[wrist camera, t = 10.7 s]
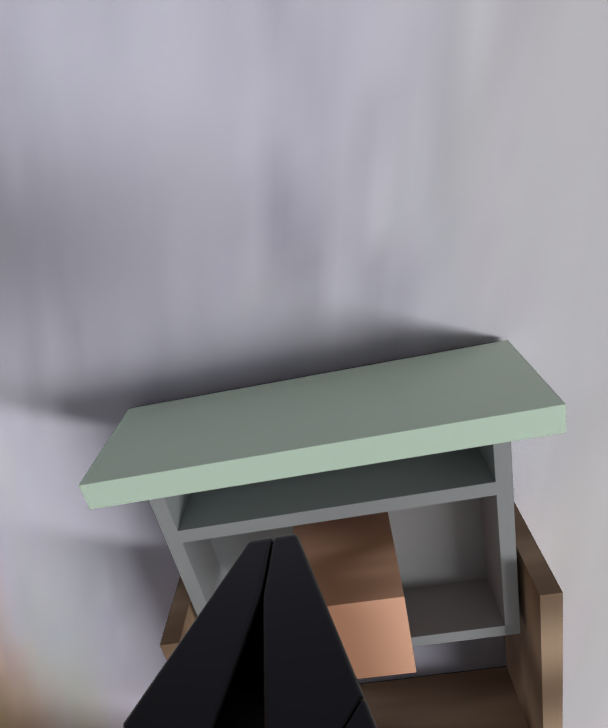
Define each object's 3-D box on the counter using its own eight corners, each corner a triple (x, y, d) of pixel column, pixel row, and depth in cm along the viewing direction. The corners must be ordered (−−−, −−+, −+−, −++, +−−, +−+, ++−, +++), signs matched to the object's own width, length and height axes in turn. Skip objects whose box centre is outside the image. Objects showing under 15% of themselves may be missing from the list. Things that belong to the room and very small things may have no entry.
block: (385, 499, 22) (404, 596, 17) (396, 567, 24) (416, 672, 19) (293, 512, 22) (289, 611, 18) (311, 578, 24) (311, 683, 20)
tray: (518, 568, 25) (564, 668, 20) (210, 611, 26) (188, 712, 22) (507, 340, 20) (566, 404, 15) (128, 408, 21) (78, 485, 17)
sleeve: (522, 674, 28) (562, 779, 24) (250, 706, 30) (239, 810, 25) (513, 501, 23) (562, 592, 19) (187, 550, 25) (159, 645, 20)
